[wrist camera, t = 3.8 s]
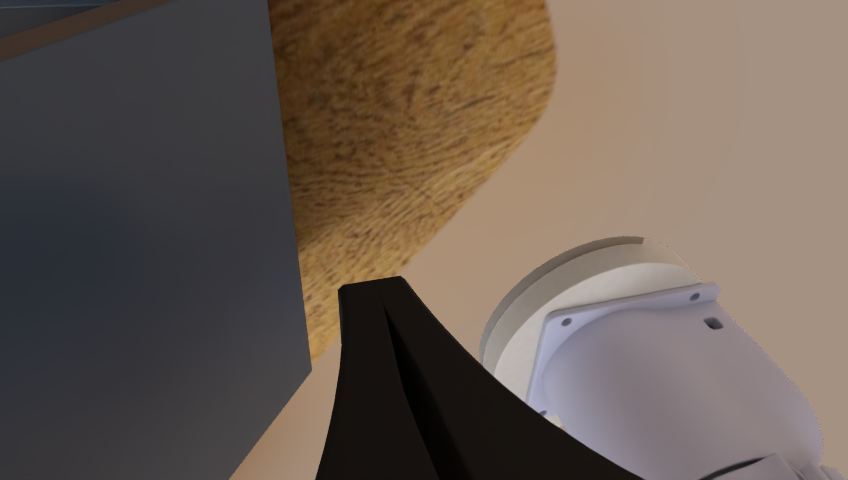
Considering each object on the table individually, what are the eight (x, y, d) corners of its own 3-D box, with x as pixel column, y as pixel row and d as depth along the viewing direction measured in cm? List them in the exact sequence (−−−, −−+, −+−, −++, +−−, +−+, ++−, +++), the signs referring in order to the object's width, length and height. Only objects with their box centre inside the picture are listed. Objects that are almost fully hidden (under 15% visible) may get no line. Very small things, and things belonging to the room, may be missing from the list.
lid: (-105, 851, 10) (-75, 878, 10) (-1376, 477, 3) (-1370, 546, 3) (291, 362, 19) (312, 370, 19) (231, -38, 12) (264, -32, 12)
